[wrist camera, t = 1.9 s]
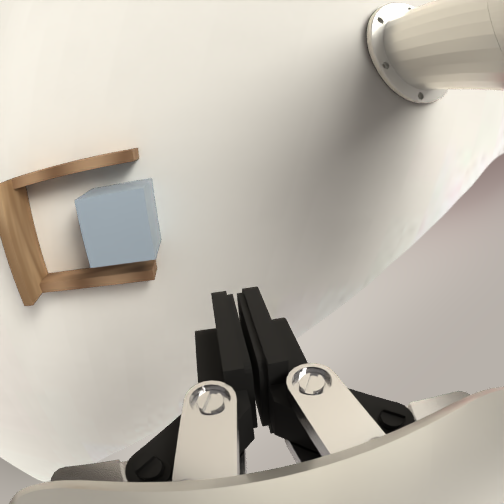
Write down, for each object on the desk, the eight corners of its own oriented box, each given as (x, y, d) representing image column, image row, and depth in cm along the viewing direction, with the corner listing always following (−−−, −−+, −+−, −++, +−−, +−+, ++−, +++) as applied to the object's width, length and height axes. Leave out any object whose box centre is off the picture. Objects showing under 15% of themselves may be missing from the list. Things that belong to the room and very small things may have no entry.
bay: (137, 147, 25) (125, 151, 20) (157, 268, 30) (151, 293, 25) (15, 177, 23) (-11, 187, 18) (42, 282, 28) (24, 305, 23)
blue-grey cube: (152, 177, 26) (143, 187, 22) (161, 238, 29) (155, 259, 24) (93, 188, 25) (74, 200, 21) (104, 246, 28) (90, 268, 23)
